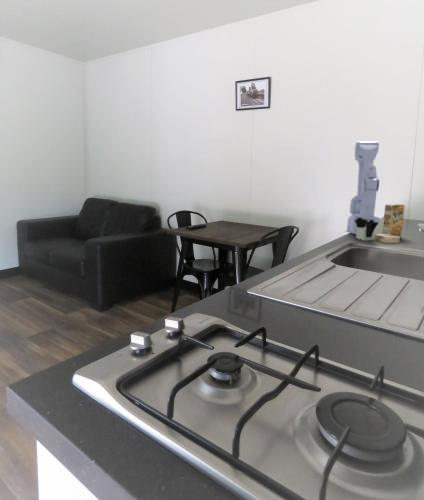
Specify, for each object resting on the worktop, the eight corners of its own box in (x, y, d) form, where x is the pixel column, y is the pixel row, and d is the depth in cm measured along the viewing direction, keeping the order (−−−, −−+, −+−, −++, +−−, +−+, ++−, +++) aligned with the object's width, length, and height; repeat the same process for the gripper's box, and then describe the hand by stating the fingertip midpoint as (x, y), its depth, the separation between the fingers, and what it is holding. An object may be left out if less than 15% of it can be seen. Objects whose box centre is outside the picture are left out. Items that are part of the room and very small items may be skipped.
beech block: (374, 241, 168) (375, 234, 167) (387, 240, 170) (388, 234, 169) (385, 244, 161) (385, 237, 161) (398, 243, 163) (399, 236, 162)
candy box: (388, 238, 173) (393, 205, 170) (381, 236, 177) (384, 204, 174) (401, 237, 177) (405, 204, 174) (393, 235, 181) (397, 203, 178)
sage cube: (356, 238, 171) (357, 227, 170) (365, 238, 173) (366, 227, 172) (363, 240, 167) (364, 229, 166) (372, 240, 168) (374, 229, 167)
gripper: (350, 204, 172) (347, 233, 175) (371, 207, 159) (367, 239, 162) (363, 204, 174) (360, 233, 177) (385, 207, 161) (381, 238, 163)
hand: (364, 236), depth 169 cm, fingers closed on sage cube, 5 cm apart
